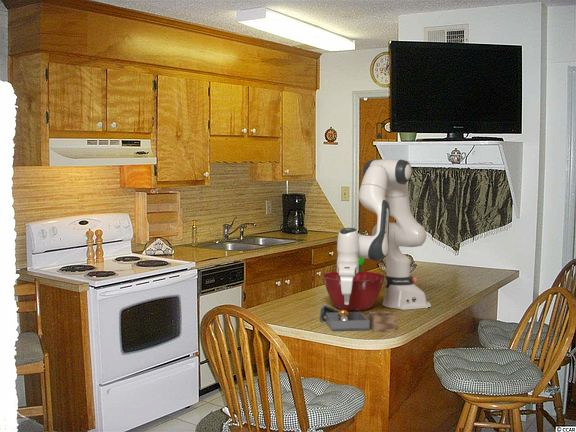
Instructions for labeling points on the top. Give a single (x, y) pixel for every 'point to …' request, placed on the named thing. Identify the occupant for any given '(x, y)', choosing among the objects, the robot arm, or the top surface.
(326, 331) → the top surface
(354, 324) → the tray
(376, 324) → the hitch block
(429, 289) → the top surface
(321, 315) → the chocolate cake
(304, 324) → the top surface
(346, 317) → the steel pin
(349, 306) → the mixing bowl
